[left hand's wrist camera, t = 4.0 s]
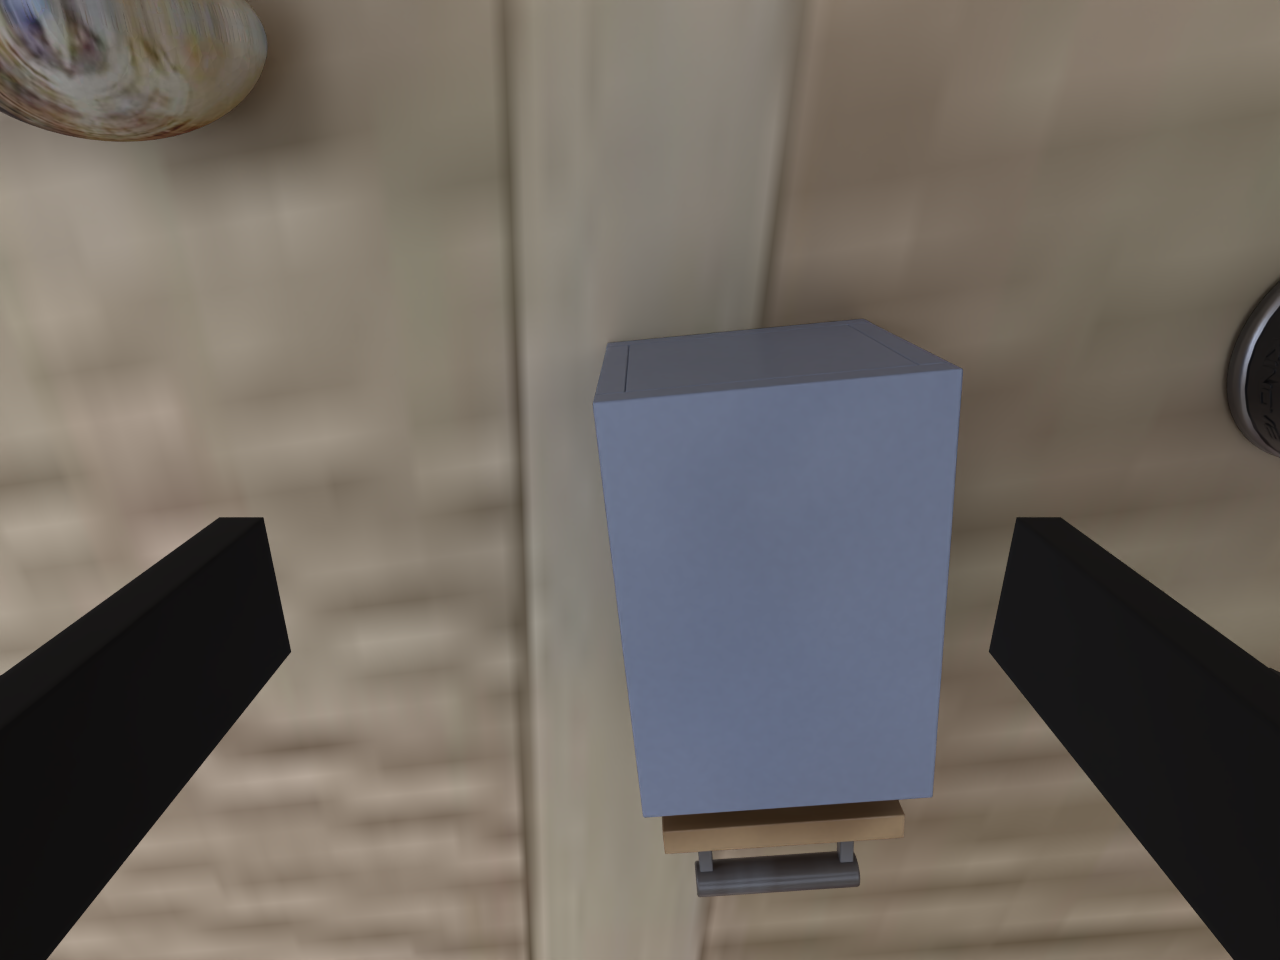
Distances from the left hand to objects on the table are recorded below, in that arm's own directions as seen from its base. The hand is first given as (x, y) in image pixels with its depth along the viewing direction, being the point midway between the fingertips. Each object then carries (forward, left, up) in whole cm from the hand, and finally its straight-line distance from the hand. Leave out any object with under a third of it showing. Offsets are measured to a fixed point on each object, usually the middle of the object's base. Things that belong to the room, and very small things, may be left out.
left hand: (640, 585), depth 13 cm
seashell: (+12, -16, -19) cm, 27 cm away
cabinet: (-2, +8, -19) cm, 20 cm away
